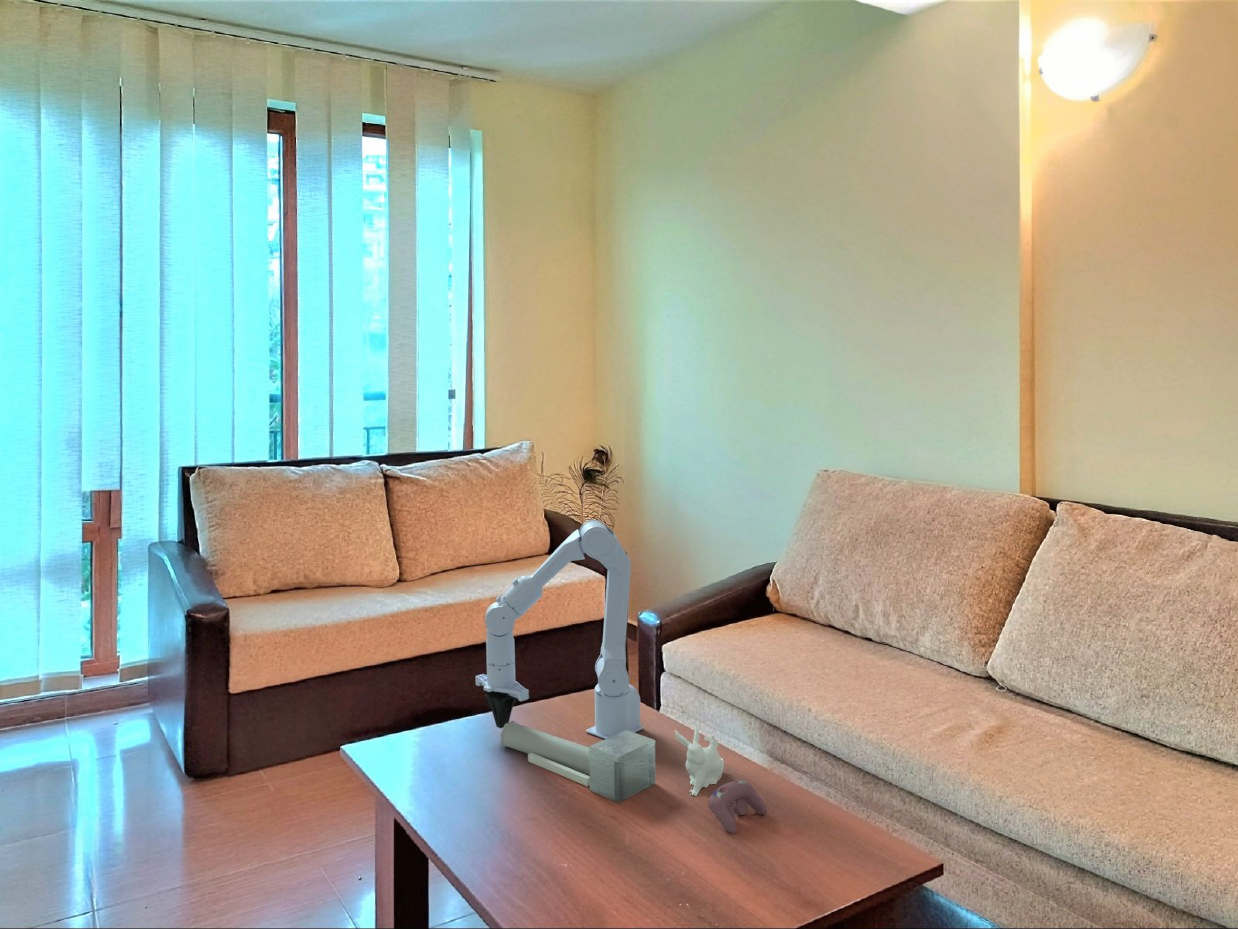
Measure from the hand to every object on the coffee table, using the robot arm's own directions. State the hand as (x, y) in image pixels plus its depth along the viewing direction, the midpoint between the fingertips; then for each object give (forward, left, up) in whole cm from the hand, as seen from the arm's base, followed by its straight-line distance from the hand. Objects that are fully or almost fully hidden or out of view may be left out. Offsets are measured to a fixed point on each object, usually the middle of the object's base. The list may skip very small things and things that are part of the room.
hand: (502, 726), depth 184 cm
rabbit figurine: (-11, +42, -3) cm, 43 cm away
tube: (0, +16, -3) cm, 17 cm away
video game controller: (-4, +56, -3) cm, 56 cm away
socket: (0, +33, -2) cm, 34 cm away
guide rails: (0, +20, -2) cm, 21 cm away
